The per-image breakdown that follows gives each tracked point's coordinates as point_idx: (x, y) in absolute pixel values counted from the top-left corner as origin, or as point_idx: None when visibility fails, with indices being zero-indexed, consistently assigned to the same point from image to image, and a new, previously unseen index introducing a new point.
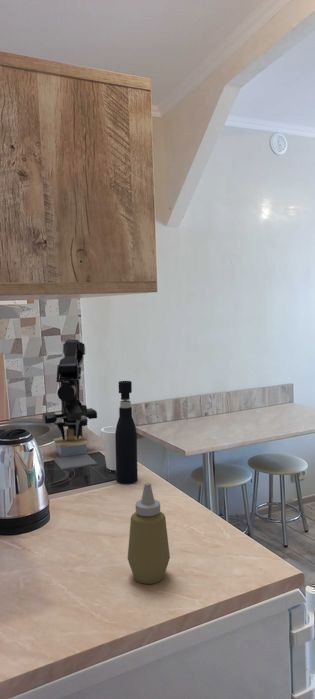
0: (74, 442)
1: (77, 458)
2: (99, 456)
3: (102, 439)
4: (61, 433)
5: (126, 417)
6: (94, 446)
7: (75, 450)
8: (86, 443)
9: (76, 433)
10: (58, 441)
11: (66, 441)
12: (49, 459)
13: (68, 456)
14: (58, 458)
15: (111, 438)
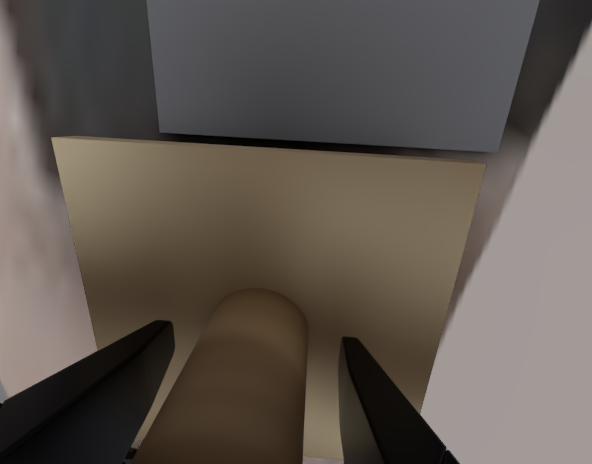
0: (240, 217)
1: (287, 10)
2: (60, 34)
3: None
4: (424, 426)
5: None
6: (74, 332)
7: None
8: (89, 139)
9: (140, 399)
10: (407, 361)
11: (320, 315)
12: (502, 194)
13: (344, 139)
14: (456, 123)
15: None
